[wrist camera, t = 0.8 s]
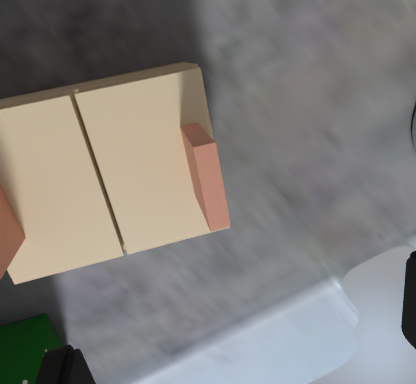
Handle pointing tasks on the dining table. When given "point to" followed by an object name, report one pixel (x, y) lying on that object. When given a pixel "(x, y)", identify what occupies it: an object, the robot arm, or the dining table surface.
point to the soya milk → (25, 349)
